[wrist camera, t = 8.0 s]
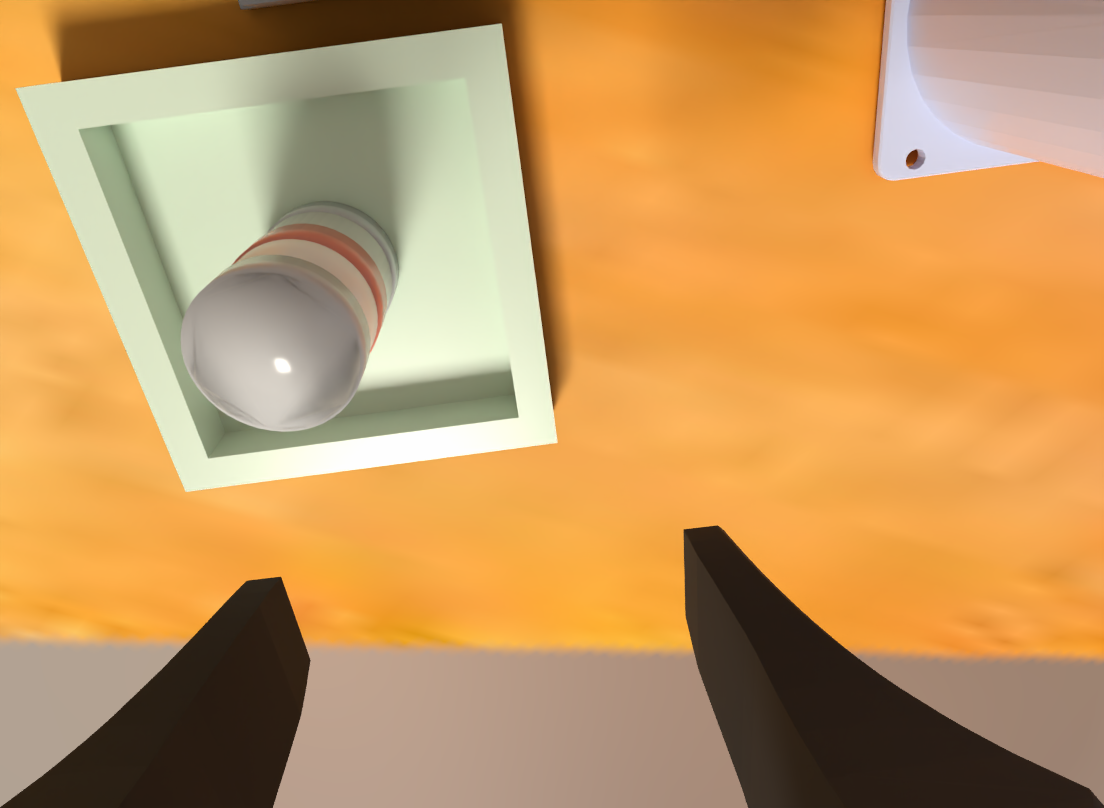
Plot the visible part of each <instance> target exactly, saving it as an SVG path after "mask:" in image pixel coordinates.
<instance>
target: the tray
mask: <svg viewBox="0 0 1104 808" xmlns="http://www.w3.org/2000/svg"><path fill="white" fill-rule="evenodd" d="M16 91H17V93H18V95H19V98H20V100H21V103H22V105H23V107H24V110H25V112H26V114H27V117H28V119H29V122H30V124H31V126H32V129H33V131H34V133H35V136H36V138H37V140H38V143H39V145H40V148H41V150H42V152H43V155H44V157H45V159H46V162H47V164H48V167H49V169H50V171H51V174H52V176H53V178H54V181H55V183H56V186H57V188H58V190H59V193H60V195H61V197H62V200H63V202H64V204H65V207H66V209H67V212H68V214H69V216H70V219H71V221H72V223H73V226H74V228H75V231H76V233H77V235H78V238H79V240H80V242H81V245H82V247H83V250H84V252H85V254H86V257H87V259H88V261H89V264H90V266H91V268H92V271H93V273H94V276H95V278H96V280H97V283H98V285H99V287H100V290H101V292H102V295H103V297H104V299H105V302H106V304H107V306H108V309H109V311H110V314H111V316H112V318H113V321H114V323H115V325H116V328H117V330H118V332H119V335H120V337H121V340H122V342H123V344H124V347H125V349H126V351H127V354H128V356H129V359H130V361H131V363H132V366H133V368H134V370H135V373H136V375H137V377H138V380H139V382H140V385H141V387H142V389H143V392H144V394H145V396H146V399H147V401H148V404H149V406H150V408H151V411H152V413H153V415H154V418H155V420H156V423H157V425H158V427H159V430H160V432H161V434H162V437H163V439H164V441H165V444H166V446H167V449H168V451H169V453H170V456H171V458H172V460H173V463H174V465H175V468H176V470H177V472H178V475H179V477H180V479H181V482H182V484H183V487H184V489H185V491H186V492H188V491H196V490H203V489H211V488H218V487H226V486H233V485H241V484H249V483H256V482H264V481H271V480H279V479H286V478H294V477H302V476H309V475H317V474H324V473H332V472H339V471H347V470H355V469H362V468H370V467H377V466H385V465H392V464H400V463H407V462H415V461H423V460H430V459H438V458H445V457H453V456H460V455H468V454H476V453H483V452H491V451H498V450H506V449H513V448H521V447H529V446H536V445H544V444H551V443H557V436H556V428H555V420H554V412H553V405H552V397H551V390H550V382H549V375H548V367H547V360H546V352H545V345H544V337H543V330H542V322H541V315H540V307H539V300H538V292H537V285H536V277H535V269H534V262H533V254H532V247H531V239H530V232H529V224H528V217H527V209H526V202H525V194H524V187H523V179H522V172H521V164H520V157H519V149H518V142H517V134H516V127H515V119H514V111H513V104H512V96H511V89H510V81H509V74H508V66H507V59H506V51H505V44H504V36H503V29H502V23H499V24H492V25H484V26H477V27H469V28H462V29H454V30H447V31H439V32H432V33H424V34H417V35H409V36H402V37H394V38H387V39H379V40H372V41H364V42H357V43H349V44H342V45H334V46H327V47H319V48H312V49H304V50H297V51H289V52H282V53H274V54H267V55H259V56H252V57H244V58H237V59H229V60H221V61H214V62H206V63H199V64H191V65H184V66H176V67H169V68H161V69H154V70H146V71H139V72H131V73H124V74H116V75H109V76H101V77H94V78H86V79H79V80H71V81H64V82H57V83H49V84H42V85H35V86H28V87H21V88H16ZM317 201H331V202H338V203H342V204H346V205H349V206H352V207H354V208H356V209H358V210H360V211H362V212H364V213H365V214H367V215H368V216H370V217H371V218H372V219H373V220H374V221H376V222H377V223H378V224H379V225H380V227H381V228H382V229H383V230H384V231H385V233H386V234H387V235H388V237H389V239H390V240H391V242H392V244H393V246H394V249H395V252H396V255H397V259H398V265H399V279H398V285H397V288H396V292H395V294H394V297H393V300H392V302H391V305H390V307H389V309H388V311H387V313H386V315H385V319H384V322H383V325H382V328H381V330H380V333H379V335H378V338H377V340H376V343H375V345H374V347H373V349H372V351H371V352H370V354H369V359H368V362H367V366H366V368H365V371H364V374H363V376H362V379H361V381H360V384H359V386H358V389H357V391H356V393H355V395H354V397H353V398H352V399H351V401H350V402H349V404H348V405H347V406H346V407H345V408H344V409H343V410H342V411H341V412H340V413H339V414H337V415H336V416H335V417H333V418H332V419H330V420H328V421H327V422H325V423H323V424H320V425H318V426H316V427H312V428H309V429H305V430H299V431H287V432H281V431H270V430H264V429H259V428H256V427H253V426H249V425H247V424H244V423H242V422H240V421H237V420H236V419H234V418H232V417H230V416H228V415H227V414H225V413H224V412H222V411H221V410H219V409H218V408H217V407H216V406H214V405H213V404H212V403H211V402H210V401H209V400H208V399H207V398H206V397H205V396H204V395H203V394H202V393H201V392H200V390H199V389H198V388H197V386H196V385H195V383H194V382H193V380H192V378H191V376H190V375H189V373H188V370H187V368H186V366H185V363H184V359H183V355H182V351H181V342H180V341H181V328H182V322H183V319H184V316H185V313H186V311H187V309H188V307H189V305H190V304H191V302H192V301H193V299H194V298H195V297H196V296H197V294H198V293H199V292H200V291H201V290H202V289H204V288H205V287H206V286H207V285H208V284H209V283H210V282H211V281H212V280H214V279H215V278H216V277H217V276H218V275H219V274H220V273H221V272H222V271H224V270H225V269H227V268H228V267H230V266H231V265H232V264H233V263H234V262H235V260H236V259H237V258H238V257H239V256H240V255H241V254H242V253H243V252H244V251H246V250H247V249H248V248H249V247H250V246H251V245H252V244H253V243H254V242H256V241H257V240H258V239H259V238H260V237H261V236H263V235H264V234H266V233H267V231H268V230H269V229H270V228H271V227H272V226H273V225H274V224H275V223H277V222H278V221H279V220H280V219H281V218H282V217H283V216H284V215H285V214H287V213H288V212H290V211H291V210H293V209H294V208H296V207H299V206H301V205H304V204H307V203H311V202H317Z"/></svg>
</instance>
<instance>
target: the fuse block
mask: <svg viewBox="0 0 1104 808" xmlns="http://www.w3.org/2000/svg"><path fill="white" fill-rule="evenodd" d="M310 1H317V0H238V2H239V5H240V9H244V10H250V9H257V8H265V7H272V6H280V5H287V4H295V3H302V2H310Z"/></svg>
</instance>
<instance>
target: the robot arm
mask: <svg viewBox="0 0 1104 808" xmlns="http://www.w3.org/2000/svg"><path fill="white" fill-rule="evenodd" d="M915 149H916V150H917V151H918V158H917V160H916V162H915V163H914V164H913V165H911V166H909V167H907V166H906V158H907V155H908V154H909V153H910V152H911V151H913V150H915ZM1037 161H1042V162H1045V163H1049V164H1053V165H1057V166H1060V167H1064V168H1068V169H1072V170H1076V171H1079V172H1083V173H1087V174H1091V175H1095V176H1098V177H1102V178H1104V0H886V8H885V20H884V32H883V44H882V56H881V68H880V80H879V93H878V105H877V117H876V129H875V141H874V153H873V168H874V171H875V172H876V174H877V175H879V176H880V177H882V178H884V179H886V180H902V179H909V178H917V177H924V176H932V175H939V174H947V173H954V172H962V171H970V170H977V169H985V168H992V167H1000V166H1007V165H1015V164H1022V163H1030V162H1037ZM684 567H685V610H686V620H687V624H688V628H689V632H690V637H691V641H692V645H693V649H694V653H695V657H696V661H697V665H698V669H699V672H700V674H701V677H702V680H703V683H704V686H705V688H706V691H707V694H708V696H709V700H710V702H711V705H712V708H713V711H714V713H715V716H716V719H717V721H718V724H719V726H720V729H721V732H722V735H723V738H724V740H725V743H726V746H727V748H728V751H729V754H730V756H731V759H732V762H733V765H734V767H735V770H736V773H737V776H738V778H739V781H740V784H741V787H742V789H743V793H744V796H745V799H746V802H747V805H748V808H1104V805H1103V804H1102V803H1101V802H1100V801H1099V800H1098V798H1097V797H1096V796H1095V795H1094V794H1093V792H1091V790H1090V789H1089V788H1086V787H1084V786H1082V785H1080V784H1078V783H1076V782H1074V781H1071V780H1069V779H1067V778H1065V777H1063V776H1061V775H1058V774H1056V773H1054V772H1052V771H1050V770H1048V769H1046V768H1043V767H1041V766H1039V765H1037V764H1035V763H1033V762H1031V761H1029V760H1026V759H1024V758H1022V757H1020V756H1018V755H1016V754H1013V753H1012V752H1010V751H1008V750H1006V749H1004V748H1002V747H1000V746H998V745H996V744H994V743H993V742H991V741H989V740H987V739H985V738H983V737H981V736H980V735H978V734H976V733H974V732H972V731H970V730H968V729H967V728H965V727H963V726H961V725H959V724H958V723H956V722H954V721H953V720H951V719H949V718H947V717H946V716H944V715H942V714H941V713H939V712H937V711H936V710H934V709H933V708H931V707H929V706H928V705H926V704H925V703H923V702H921V701H920V700H918V699H917V698H915V697H913V696H912V695H910V694H909V693H907V692H905V691H903V690H902V689H900V688H899V687H898V686H896V685H894V684H893V683H892V682H890V681H889V680H887V679H886V678H884V677H883V676H881V675H880V674H879V673H877V672H876V671H875V670H873V669H872V668H870V667H869V666H868V665H866V664H865V663H864V662H862V661H861V660H860V659H858V658H857V657H856V656H854V655H853V654H852V653H851V652H849V651H848V650H847V649H845V648H844V647H843V646H842V645H841V644H839V643H838V642H837V641H836V640H834V639H833V638H832V637H831V636H830V635H828V634H827V633H826V632H825V631H824V630H823V629H821V628H820V627H819V626H818V625H817V624H816V623H814V622H813V621H812V620H811V619H810V618H809V617H808V616H807V615H806V614H804V613H803V612H802V611H801V610H800V609H799V608H798V607H797V606H796V605H795V604H794V603H793V602H792V601H790V600H789V599H788V598H787V597H786V596H785V595H784V594H783V593H782V592H781V591H780V590H779V589H778V588H777V587H776V586H775V585H774V584H773V583H772V582H771V581H770V580H769V579H768V578H767V577H766V576H765V575H764V574H763V573H762V572H761V571H760V570H759V569H758V568H757V567H756V566H755V565H754V564H753V562H752V561H751V560H750V559H749V558H748V557H747V556H746V555H745V554H744V553H743V552H742V551H741V549H740V548H739V547H738V546H737V545H736V544H735V543H734V542H733V540H732V539H731V538H730V537H729V536H728V535H727V533H726V532H725V531H724V530H723V529H721V528H720V527H719V526H710V527H701V528H693V529H684ZM309 666H310V658H309V655H308V652H307V649H306V646H305V643H304V641H303V638H302V635H301V632H300V629H299V626H298V624H297V621H296V618H295V615H294V612H293V609H292V607H291V604H290V601H289V598H288V595H287V592H286V590H285V587H284V584H283V581H282V578H281V577H275V578H267V579H258V580H250V581H246V582H245V583H244V584H243V585H242V586H241V587H240V588H239V589H238V590H237V591H236V592H235V593H234V594H233V595H232V596H231V597H230V598H229V600H228V601H227V602H226V603H225V604H224V605H223V606H222V607H221V608H220V609H219V610H218V611H217V612H216V613H215V614H214V615H213V616H212V618H211V619H210V620H209V621H208V622H207V623H206V624H205V625H204V626H203V627H202V628H201V629H200V630H199V631H198V632H197V633H196V634H195V636H194V637H193V638H192V639H191V640H190V641H189V642H188V643H187V644H186V645H185V646H184V647H183V648H182V649H181V650H180V651H179V652H178V653H177V654H176V655H175V656H174V657H173V658H172V659H171V660H170V661H169V663H168V664H167V665H166V666H165V667H164V668H163V669H162V670H161V671H160V672H159V673H158V674H157V675H156V676H155V677H153V679H151V680H150V681H149V682H148V683H147V684H146V685H145V686H144V687H143V688H142V689H141V690H140V691H139V692H138V693H137V694H136V695H135V696H134V697H133V698H132V699H130V700H129V701H128V702H127V703H126V704H125V705H124V706H123V707H122V708H121V709H120V710H119V711H118V712H117V713H116V714H115V715H114V716H113V717H112V718H110V719H109V720H108V721H107V722H106V723H105V724H104V725H103V726H102V727H100V728H99V729H98V730H97V731H96V732H95V733H94V734H92V735H91V736H90V737H89V738H88V739H87V740H86V741H84V742H83V743H82V744H81V745H80V746H78V747H77V748H76V749H75V750H74V751H72V752H71V753H70V754H69V755H68V756H66V757H65V758H64V759H63V760H62V761H60V762H59V763H58V764H57V765H56V766H54V767H53V768H52V769H51V770H49V771H48V772H47V773H45V774H44V775H43V776H42V777H40V778H39V779H38V780H36V781H35V782H34V783H32V784H31V785H30V786H28V787H27V788H26V789H24V790H23V791H22V792H20V793H19V794H18V795H16V796H15V797H13V798H12V799H11V800H10V801H8V802H7V803H5V804H4V805H3V806H1V807H0V808H273V805H274V802H275V799H276V795H277V792H278V789H279V786H280V783H281V779H282V776H283V773H284V770H285V767H286V763H287V760H288V757H289V754H290V750H291V747H292V744H293V740H294V737H295V734H296V731H297V727H298V723H299V720H300V716H301V712H302V707H303V701H304V696H305V691H306V685H307V678H308V671H309Z"/></svg>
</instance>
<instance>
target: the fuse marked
mask: <svg viewBox="0 0 1104 808" xmlns="http://www.w3.org/2000/svg"><path fill="white" fill-rule="evenodd" d="M398 279H399V265H398V259H397V255H396V252H395V249H394V246H393V244H392V242H391V240H390V239H389V237H388V235H387V234H386V233H385V231H384V230H383V229H382V228H381V227H380V225H379V224H378V223H377V222H376V221H374V220H373V219H372V218H371V217H370V216H368V215H367V214H365V213H364V212H362V211H360V210H358V209H356V208H354V207H352V206H349V205H346V204H342V203H338V202H331V201H317V202H311V203H307V204H304V205H301V206H299V207H296V208H294V209H293V210H291V211H290V212H288V213H287V214H285V215H284V216H283V217H282V218H281V219H280V220H279V221H278V222H277V223H275V224H274V225H273V226H272V227H271V228H270V229H269V230H268V231H267V233H266V234H264V235H263V236H261V237H260V238H259V239H258V240H257V241H256V242H254V243H253V244H252V245H251V246H250V247H249V248H248V249H247V250H246V251H244V252H243V253H242V254H241V255H240V256H239V257H238V258H237V259H236V260H235V262H234V263H233V264H232V265H231V266H230V267H228V268H227V269H225V270H224V271H222V272H221V273H220V274H219V275H218V276H217V277H216V278H215V279H214V280H212V281H211V282H210V283H209V284H208V285H207V286H206V287H205V288H204V289H202V290H201V291H200V292H199V293H198V294H197V296H196V297H195V298H194V299H193V301H192V302H191V304H190V305H189V307H188V309H187V311H186V313H185V316H184V319H183V322H182V328H181V341H180V342H181V351H182V355H183V359H184V363H185V366H186V368H187V370H188V373H189V375H190V376H191V378H192V380H193V382H194V383H195V385H196V386H197V388H198V389H199V390H200V392H201V393H202V394H203V395H204V396H205V397H206V398H207V399H208V400H209V401H210V402H211V403H212V404H213V405H214V406H216V407H217V408H218V409H219V410H221V411H222V412H224V413H225V414H227V415H228V416H230V417H232V418H234V419H236V420H237V421H240V422H242V423H244V424H247V425H249V426H253V427H256V428H259V429H264V430H270V431H281V432H287V431H299V430H305V429H309V428H312V427H316V426H318V425H320V424H323V423H325V422H327V421H328V420H330V419H332V418H333V417H335V416H336V415H337V414H339V413H340V412H341V411H342V410H343V409H344V408H345V407H346V406H347V405H348V404H349V402H350V401H351V399H352V398H353V397H354V395H355V393H356V391H357V389H358V386H359V384H360V381H361V379H362V376H363V374H364V371H365V368H366V366H367V362H368V359H369V354H370V352H371V351H372V349H373V347H374V345H375V343H376V340H377V338H378V335H379V333H380V330H381V328H382V325H383V322H384V319H385V315H386V313H387V311H388V309H389V307H390V305H391V302H392V300H393V297H394V294H395V292H396V288H397V285H398Z"/></svg>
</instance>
